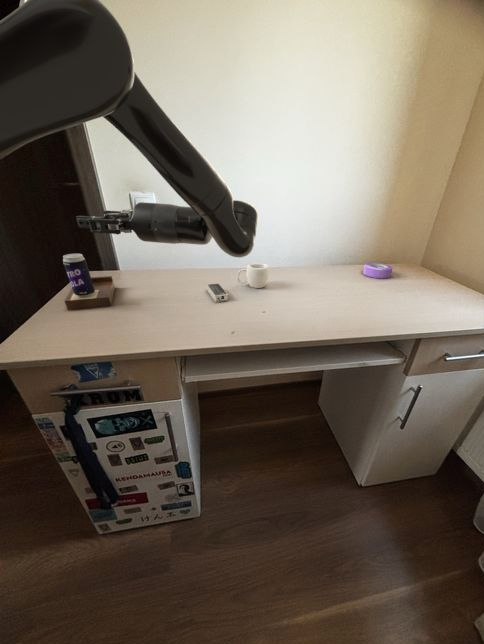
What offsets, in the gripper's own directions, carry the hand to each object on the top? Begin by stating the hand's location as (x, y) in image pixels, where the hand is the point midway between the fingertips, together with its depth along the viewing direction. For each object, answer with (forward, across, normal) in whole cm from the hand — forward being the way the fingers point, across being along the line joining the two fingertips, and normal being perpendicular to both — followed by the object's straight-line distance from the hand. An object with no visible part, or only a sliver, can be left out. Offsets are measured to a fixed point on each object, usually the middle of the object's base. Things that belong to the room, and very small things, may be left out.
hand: (92, 218), depth 61 cm
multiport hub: (-17, -30, +28) cm, 45 cm away
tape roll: (-77, -72, +28) cm, 109 cm away
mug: (-27, -43, +28) cm, 58 cm away
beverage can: (+20, -13, +25) cm, 35 cm away
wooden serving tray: (+22, -17, +28) cm, 40 cm away
